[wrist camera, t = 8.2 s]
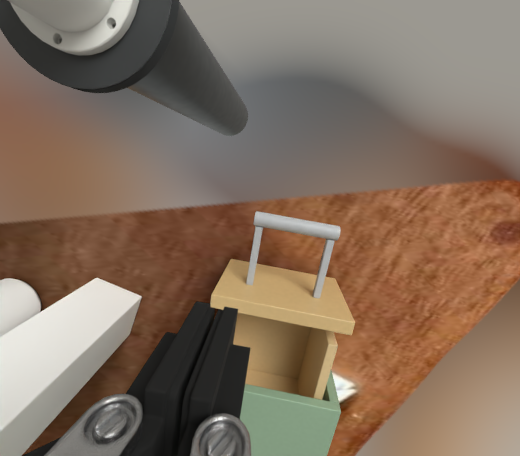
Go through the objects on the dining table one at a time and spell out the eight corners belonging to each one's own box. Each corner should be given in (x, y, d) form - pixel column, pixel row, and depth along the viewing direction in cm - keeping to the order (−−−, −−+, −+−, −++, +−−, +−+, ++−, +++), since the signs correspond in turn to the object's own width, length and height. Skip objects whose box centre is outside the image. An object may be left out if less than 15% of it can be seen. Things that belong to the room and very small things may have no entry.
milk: (87, 315, 32) (-300, 614, 11) (97, 276, 31) (-334, 535, 9) (131, 334, 32) (-167, 667, 11) (143, 295, 31) (-178, 598, 9)
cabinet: (218, 313, 30) (190, 380, 21) (323, 334, 30) (341, 411, 21) (205, 407, 34) (176, 498, 25) (297, 427, 34) (303, 528, 24)
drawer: (239, 198, 26) (221, 213, 18) (351, 218, 25) (380, 242, 18) (215, 360, 31) (194, 423, 23) (308, 379, 30) (316, 450, 23)
